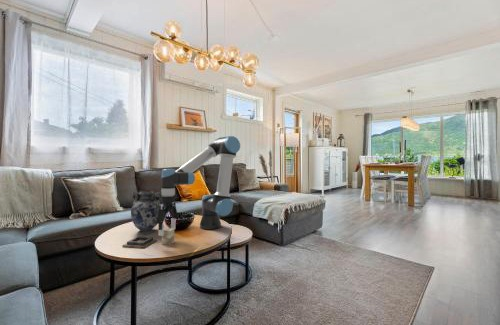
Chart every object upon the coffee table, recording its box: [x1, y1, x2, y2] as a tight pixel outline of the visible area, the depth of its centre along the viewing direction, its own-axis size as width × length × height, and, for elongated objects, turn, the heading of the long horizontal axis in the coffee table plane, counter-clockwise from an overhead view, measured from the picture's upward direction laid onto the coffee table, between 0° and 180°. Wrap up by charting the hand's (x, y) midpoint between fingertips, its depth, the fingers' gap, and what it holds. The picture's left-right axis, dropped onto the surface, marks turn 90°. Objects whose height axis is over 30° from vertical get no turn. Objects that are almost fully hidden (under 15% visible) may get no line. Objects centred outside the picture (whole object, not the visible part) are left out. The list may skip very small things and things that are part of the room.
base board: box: [122, 236, 158, 249], centre depth 138 cm, size 13×13×2 cm
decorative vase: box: [130, 189, 162, 235], centre depth 160 cm, size 21×19×28 cm
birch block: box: [161, 227, 175, 246], centre depth 139 cm, size 5×5×8 cm
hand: (167, 232), depth 139 cm, fingers open, 13 cm apart
